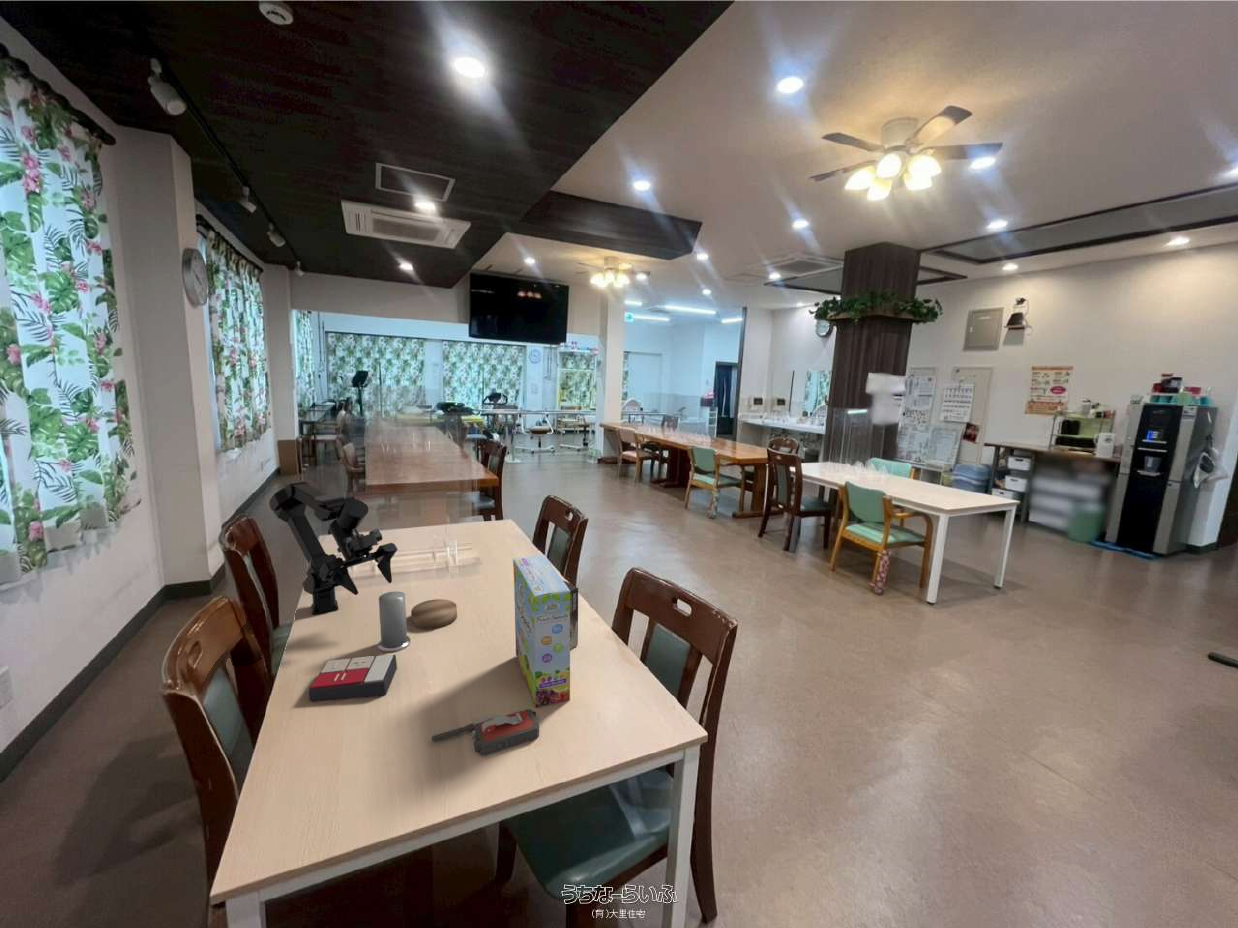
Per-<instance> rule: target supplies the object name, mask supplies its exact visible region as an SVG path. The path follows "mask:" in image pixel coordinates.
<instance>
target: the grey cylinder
mask: <svg viewBox="0 0 1238 928" xmlns="http://www.w3.org/2000/svg"><path fill="white" fill-rule="evenodd" d="M378 606H379V607H378V608H379V625H380V628H379V629H380V641H379V642H378V643H377V649H378V650H379V651H380V652H382V653H396V652H399V651H403V650H405V649H406V648H408V647H409V646H410V645H411V641H412V640H411V638H410V636H408V631H407V612H406V611H407V609H406V608H407V606H406V593H404V592H403V591H389V592H385V593H382V594H381V595H380V596H379V597H378Z"/></svg>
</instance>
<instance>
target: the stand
mask: <svg viewBox="0 0 1238 928" xmlns="http://www.w3.org/2000/svg"><path fill="white" fill-rule="evenodd" d="M457 612H458V607H457V604H456V602H454V601H452V600H449V599H443V598H442V599H441V598H438V599H430V600H426V601H422V602H420V603H418V604H416V605H414V606H413V608H412V607H411V611H410V616H411V624H412V625H413V627H415V628H418V629H421V630H435V629H441V628H444V627H447V626H450V625H451V624H452V623H454V622H455V621H456V619H457V617H458V613H457Z"/></svg>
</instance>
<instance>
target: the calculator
mask: <svg viewBox="0 0 1238 928" xmlns="http://www.w3.org/2000/svg"><path fill="white" fill-rule="evenodd" d="M396 656H397V655H396V654H386V655H377V656H374V655H369V656H361V657H353V658H351V659H350V658H343V659H334V660H328V661H327V662H326V663H325V665H324V666H323V667H322V669H321V671H320V672H319V674H318V676H317V677H316V678H315V679H314V682H313V683H312V684H311V686H310V687H309V689H308V696H309V697H308V698H309V702H310V703H314V702H315V703H316V702H326V701H339V700H348V699H357V698H375V697H376V698H377V697H378V698H379V697H385V696H387V694H388V691H389V689H390V686H391V684H392V681H393V679H394V677H395V674H396V672H397V670H398V666H397V663H398V662H397V657H396Z"/></svg>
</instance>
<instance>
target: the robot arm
mask: <svg viewBox="0 0 1238 928" xmlns="http://www.w3.org/2000/svg"><path fill="white" fill-rule="evenodd" d="M354 496H355V495H354ZM354 496H352V495H351V496H348V497H343V496H340V495H331V494H330V495H328V494H325V493H324V492H322V491H320V490H319V489H317V488H315V487H313V486H311V485H309V483H308V482H307V481H303V480H302V481H295V482H289V483H288V484H286V485H285V486H284V487H283V488H282V489H280V490H278V491H277V492H275V493H273V495H272V496H271V498H270V499H269V502H268V503H269V508H270V509H271V511H272V512H273V513H274V514H275V516H276V517H277V519H280V520H281V521H283V522H284V523H287V525H288V527H289V528H290V530H291V533H292V534H293V536H294V538H295V540H296V542H297V544H298V546H299V549H300V550H301V552H302V553H303V556H304V558H305V560H306V561H307V563H308V564H307V569H306V572H305V573H306V578H305V579H304V580H303V582H302V587H303V591H304V592H306V593H308V594H310V595H312V604H311V614H312V615H318V614H323V613H327V612H333V611H338V610H339V604H338V600H337V599H336V587H339V586H341V587H343V588H344V589H346V590H347V591H348V592H350V593H351V594H353V595H355V596H357V595H358V594H359V591H358V589H357V586H356V584H355V583H354V581H353V579H352V577H351V575H350V574H349V569H348V568H352V567H354V566H358V565H360V564H364V563H368V562H370V561H374V562H375V563H377V564H376V567H377V569H378V570H379V571H380V573H381V575H382V576H383V577H384V579H385V580H386V582H388V584H391V583H392V581H393V578H392V576H393V575H392V568H391V562H392V558H394V556H395V554H396V553H397V552H398V550H399V549H398V547H397V546H396V544H395V543H393V542H388V543H384V544H381V545H379V547H377V548H376V550H375V551H373V549H374V547H373V546H378V544H379V542H381V541H382V540H383V536H382V532H381V531H380V529H379V528H377V529H373V530H371V531H369V533H368V534H365V535H364V533H359V531H358V529H357V528H359V527H360V526H361V524H362V523H363V521H364V519H365V518H366V516H367V515H368V513H369V506H368V505H367V503H365V502H363V501H362V500H360V499H356V498H355V497H354ZM307 506H308V507H309V508H311V509H313V512H314V516H315V517H316V518H317V519H318V520H319V521H320V522H322V523H324V522H330V521H331V523H329V525H328V526H329V527H328V528H327V534H328V535H332V537H333V538H334V541H335V543H336V544H337V546H338V547H337V549H336V550H337V553H338V554H340V553H341V554H342V556H343V558H344V559H343V558H341V557H337V556H336V555H335V554H334V553H330V554H327V553H326V552H325V550H324V548H323V546H322V544H321V542H320V539H319V538H318V536H317V534H316V533H315V530H314V529H313V527H312V525H311V523H310V521H309V520H308V518H307V515H306V514H305V512H306V509H307ZM371 551H373V552H371Z"/></svg>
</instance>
